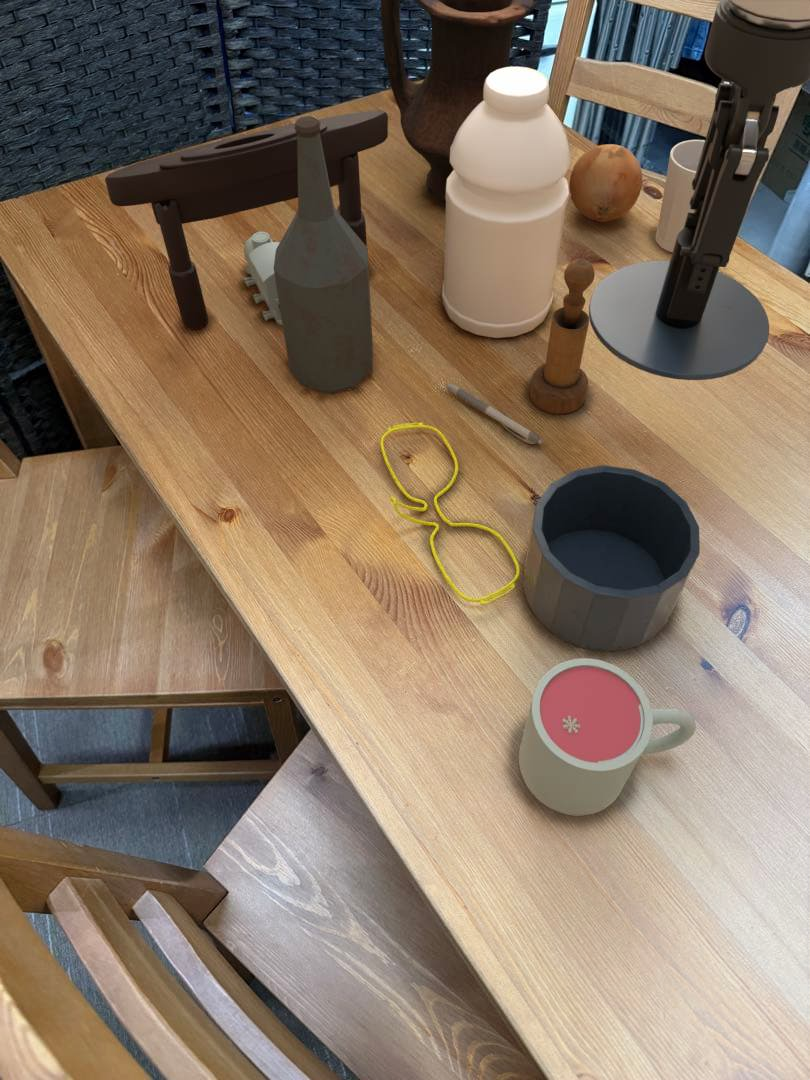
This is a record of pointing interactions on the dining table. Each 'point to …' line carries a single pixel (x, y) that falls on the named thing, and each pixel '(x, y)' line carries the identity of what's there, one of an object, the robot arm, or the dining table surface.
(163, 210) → the stool
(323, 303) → the bottle
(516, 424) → the pen
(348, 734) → the dining table surface
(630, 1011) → the dining table surface
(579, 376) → the mortar and pestle
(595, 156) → the onion
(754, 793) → the dining table surface
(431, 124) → the jug
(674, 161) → the cup
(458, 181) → the bottle
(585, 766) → the mug
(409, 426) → the glasses
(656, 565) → the pot
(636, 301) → the lid
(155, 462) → the dining table surface
